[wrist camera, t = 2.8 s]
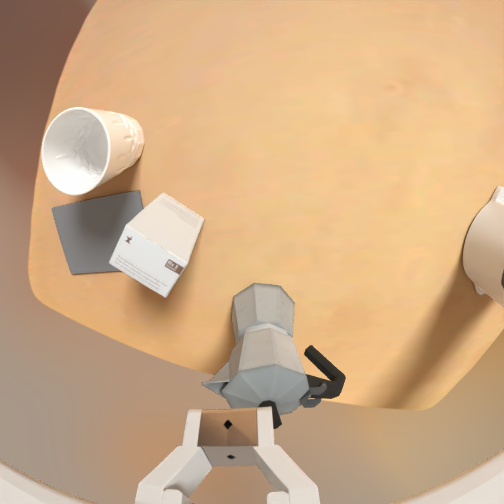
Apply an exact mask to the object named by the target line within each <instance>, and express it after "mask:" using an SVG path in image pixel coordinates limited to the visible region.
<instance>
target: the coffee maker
mask: <svg viewBox="0 0 504 504" xmlns="http://www.w3.org/2000/svg"><path fill="white" fill-rule="evenodd" d="M231 318H232V324H233V330H234V336H235V342H236V346H235V347H234V348H233V349H232V352H231V355H230V358H229V361H228V362H227V363H226V364H225V365H224V366H223V367H222V368H221V369H220V370H219V371H218V372H217V373H216V374H215V375H214V376H213V377H212V379H210V380H209V381H207V382H203V383H202V385H203V386H205V387H206V388H208V389H210V390H212V391H213V392H215V393H217V394H219V395H221V396H222V397H224V398H226V400H227V402H228V403H229V405H230V407H231V408H232V409H239V408H254V407H257V408H259V407H272V417H273V429H276V428H278V427H279V426H280V425H281V424H282V423H281V420H280V416H279V415H283V414H288V413H292V412H293V411H294V410H296V409H297V408H298V407H299V406H300V405H301V404H302V405H303V407H305V408H308V407H309V408H310V407H315V406H316V405H317V404H319V403H320V401H321V398H327V399H332V398H335V397H337V396H339V395H340V393H341V391H342V388H343V385H344V382H345V379H346V377H345V375H344V374H343V373H342V372H341V371H340V370H338V369H337V368H336V367H335V366H334V365H333V364H332V363H331V362H330V361H328V360H327V359H326V358H325V357H324V356H323V355H322V354H321V353H320V352H319V351H317V350H316V349H315V348H314V347H313V346H312V345H310V346H309V347H308V348H307V349H306V350H305V353H304V355H305V356H306V357H307V358H308V359H309V360H310V361H311V362H312V363H313V364H314V365H315V366H316V367H317V368H318V369H319V370H320V371H321V372H322V373H324V374H325V375H326V376H327V377H328V378H329V379H330V380H331V381H329V380H325V379H322V378H318V377H315V376H311V375H308V374H306V373H305V370H304V368H303V365H302V362H301V360H300V357H299V355H298V352H297V349H296V347H295V344H294V341H293V339H292V337H293V322H294V302H293V300H292V299H291V298H290V297H289V296H288V294H287V293H286V292H285V291H284V290H283V289H282V287H281V286H278V285H268V284H259V283H253V284H252V285H250V286H249V287H247V288H246V289H244V290H243V291H241V292H240V293H238V294H237V295H235V296H234V297H233V306H232V314H231ZM308 398H315V399H310V400H308Z"/></svg>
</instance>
